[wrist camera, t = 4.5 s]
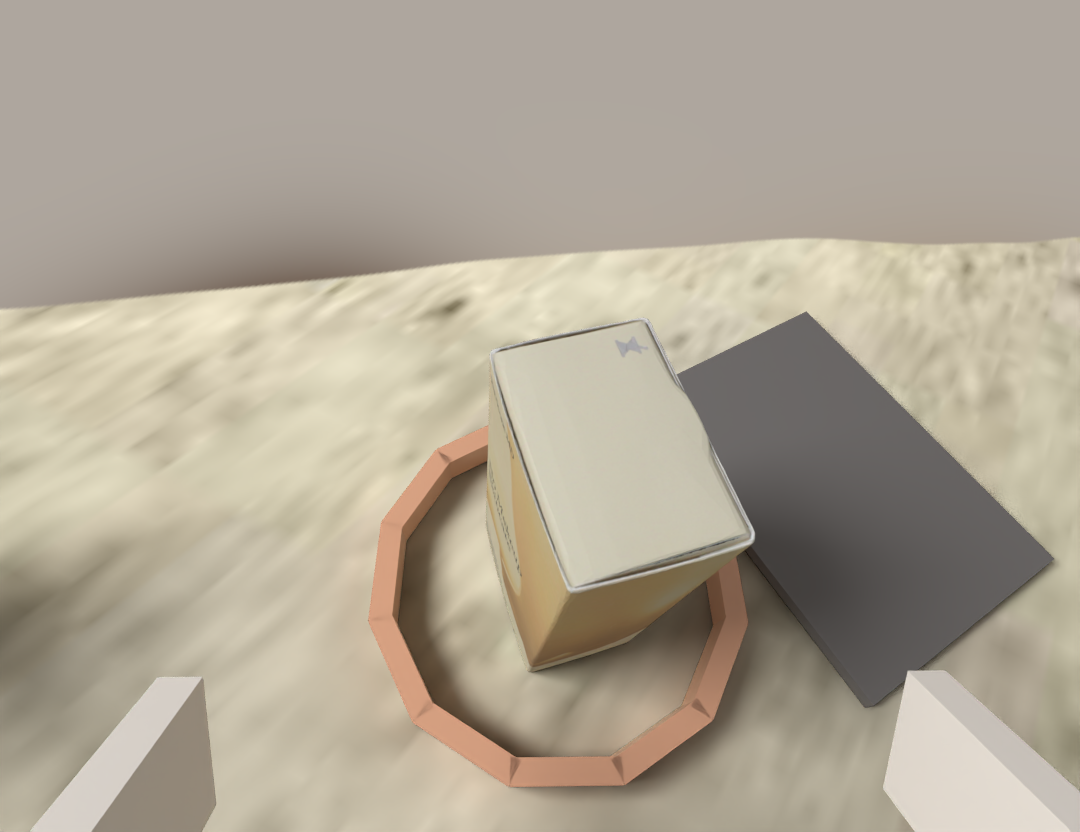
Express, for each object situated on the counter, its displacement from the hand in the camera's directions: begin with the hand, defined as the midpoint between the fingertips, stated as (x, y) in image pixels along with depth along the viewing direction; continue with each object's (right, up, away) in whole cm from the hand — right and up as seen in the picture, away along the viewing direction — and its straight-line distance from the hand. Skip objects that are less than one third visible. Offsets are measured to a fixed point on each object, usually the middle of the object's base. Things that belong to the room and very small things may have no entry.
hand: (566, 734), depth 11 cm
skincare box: (0, -1, +13) cm, 13 cm away
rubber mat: (+12, +3, +16) cm, 20 cm away
